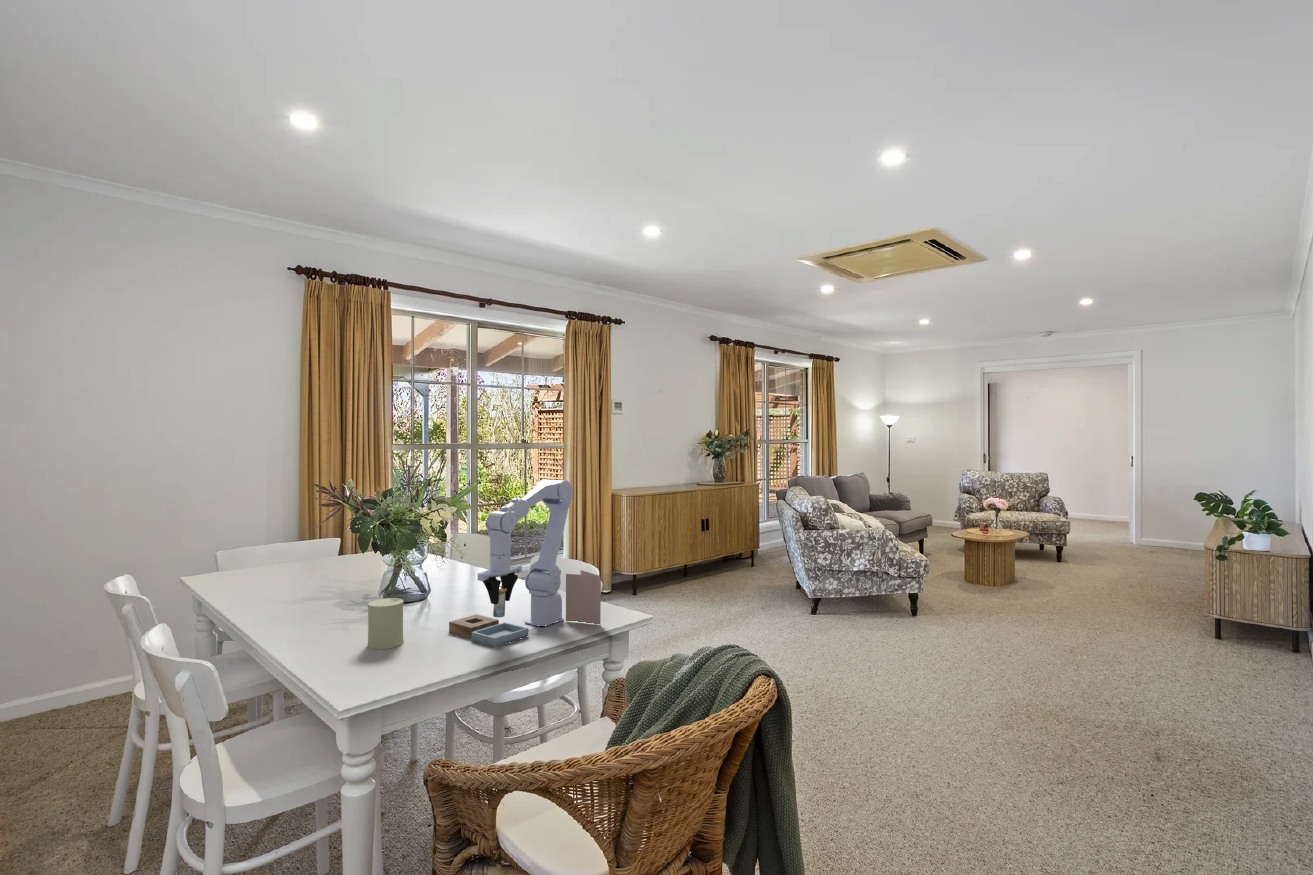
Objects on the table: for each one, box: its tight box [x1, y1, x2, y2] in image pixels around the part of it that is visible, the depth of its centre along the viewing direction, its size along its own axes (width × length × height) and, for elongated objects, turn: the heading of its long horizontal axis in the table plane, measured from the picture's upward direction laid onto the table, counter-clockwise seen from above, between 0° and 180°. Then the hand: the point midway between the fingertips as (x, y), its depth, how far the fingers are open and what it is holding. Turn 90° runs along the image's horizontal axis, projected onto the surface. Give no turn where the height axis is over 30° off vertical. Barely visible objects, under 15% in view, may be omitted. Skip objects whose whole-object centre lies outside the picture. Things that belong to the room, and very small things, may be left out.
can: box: [367, 597, 405, 650], centre depth 179 cm, size 9×9×12 cm
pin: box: [492, 585, 507, 618], centre depth 184 cm, size 4×4×8 cm
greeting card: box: [565, 569, 602, 625], centre depth 200 cm, size 11×7×15 cm, turn 38°
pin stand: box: [448, 613, 500, 639], centre depth 191 cm, size 10×10×3 cm
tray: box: [471, 622, 530, 648], centre depth 184 cm, size 12×10×2 cm
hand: (500, 602), depth 184 cm, fingers closed on pin, 4 cm apart
